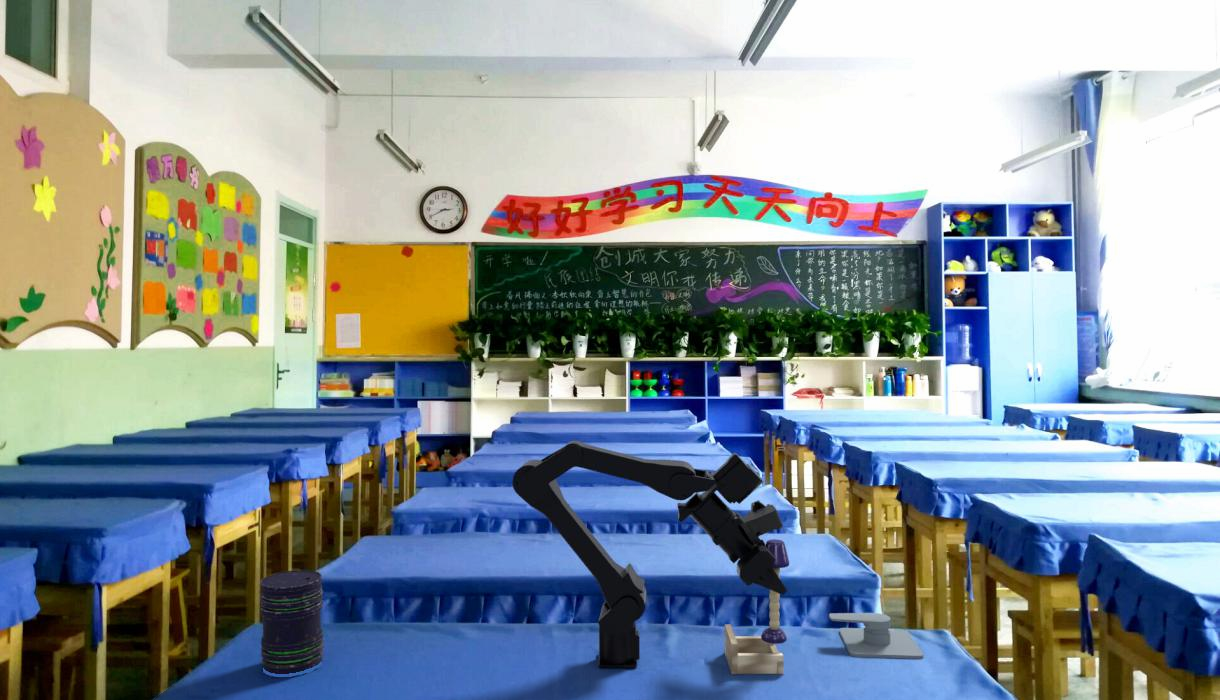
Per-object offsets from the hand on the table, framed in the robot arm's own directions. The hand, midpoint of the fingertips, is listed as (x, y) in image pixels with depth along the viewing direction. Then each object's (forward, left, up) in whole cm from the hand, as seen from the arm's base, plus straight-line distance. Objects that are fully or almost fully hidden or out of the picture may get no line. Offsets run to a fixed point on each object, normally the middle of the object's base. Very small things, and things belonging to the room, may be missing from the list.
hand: (782, 588), depth 141 cm
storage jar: (-83, -1, -13) cm, 84 cm away
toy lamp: (-2, 0, -9) cm, 9 cm away
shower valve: (+18, +9, -13) cm, 24 cm away
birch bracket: (-5, 0, -13) cm, 14 cm away
